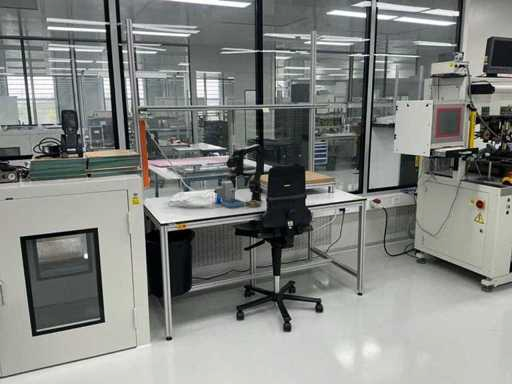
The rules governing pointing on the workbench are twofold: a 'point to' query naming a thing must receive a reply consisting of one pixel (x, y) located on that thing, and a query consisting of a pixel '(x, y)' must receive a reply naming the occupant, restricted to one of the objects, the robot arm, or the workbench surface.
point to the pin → (232, 195)
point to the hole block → (252, 203)
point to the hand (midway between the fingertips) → (240, 187)
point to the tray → (237, 203)
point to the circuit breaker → (224, 190)
